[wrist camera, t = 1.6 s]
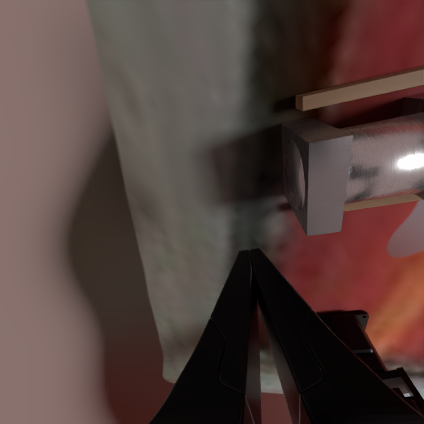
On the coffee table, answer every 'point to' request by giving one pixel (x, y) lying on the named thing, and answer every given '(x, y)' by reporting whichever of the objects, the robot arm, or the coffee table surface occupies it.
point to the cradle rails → (360, 91)
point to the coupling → (351, 164)
